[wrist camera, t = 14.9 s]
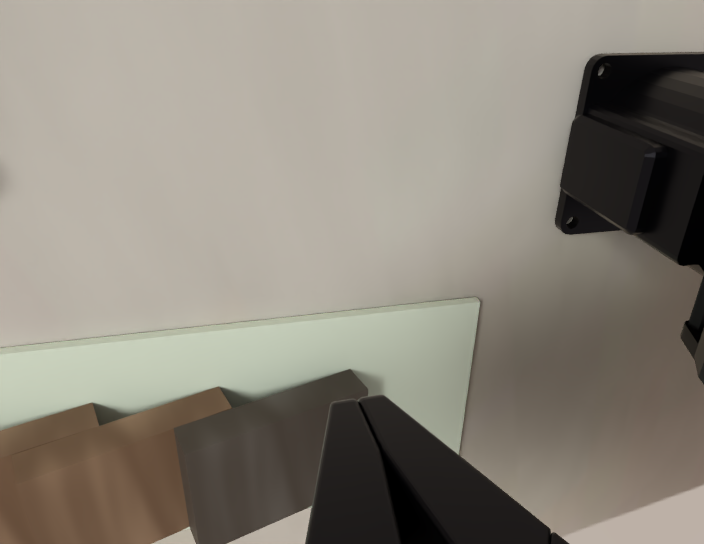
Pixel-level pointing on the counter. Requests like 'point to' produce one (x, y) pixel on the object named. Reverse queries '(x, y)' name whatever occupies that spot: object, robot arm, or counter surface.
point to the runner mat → (256, 364)
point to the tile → (257, 458)
